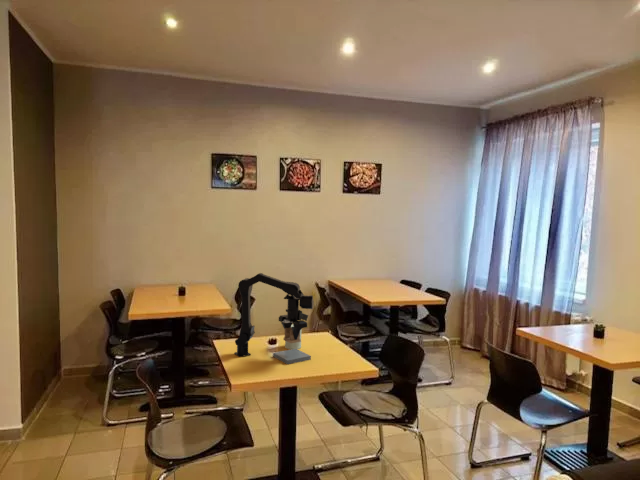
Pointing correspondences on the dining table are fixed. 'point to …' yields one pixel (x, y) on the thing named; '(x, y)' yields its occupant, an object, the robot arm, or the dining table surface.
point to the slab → (291, 356)
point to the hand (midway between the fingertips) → (292, 337)
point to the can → (293, 345)
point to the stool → (291, 336)
